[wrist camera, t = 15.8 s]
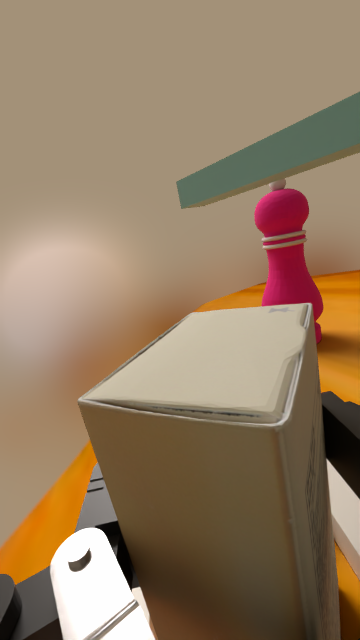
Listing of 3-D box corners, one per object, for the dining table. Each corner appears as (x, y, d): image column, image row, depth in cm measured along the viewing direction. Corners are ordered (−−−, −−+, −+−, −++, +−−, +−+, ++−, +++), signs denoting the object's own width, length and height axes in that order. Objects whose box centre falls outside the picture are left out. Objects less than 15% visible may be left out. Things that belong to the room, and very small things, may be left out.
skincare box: (239, 549, 14) (192, 308, 11) (341, 582, 12) (315, 296, 9) (181, 754, 9) (62, 394, 6) (346, 877, 7) (288, 415, 4)
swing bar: (863, -18, 6) (894, -127, 6) (982, -91, 5) (1040, -255, 4) (208, 205, 23) (203, 180, 22) (176, 209, 21) (170, 182, 20)
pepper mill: (284, 356, 34) (261, 172, 29) (257, 339, 41) (235, 188, 36) (339, 341, 35) (326, 160, 30) (303, 327, 42) (288, 178, 37)
